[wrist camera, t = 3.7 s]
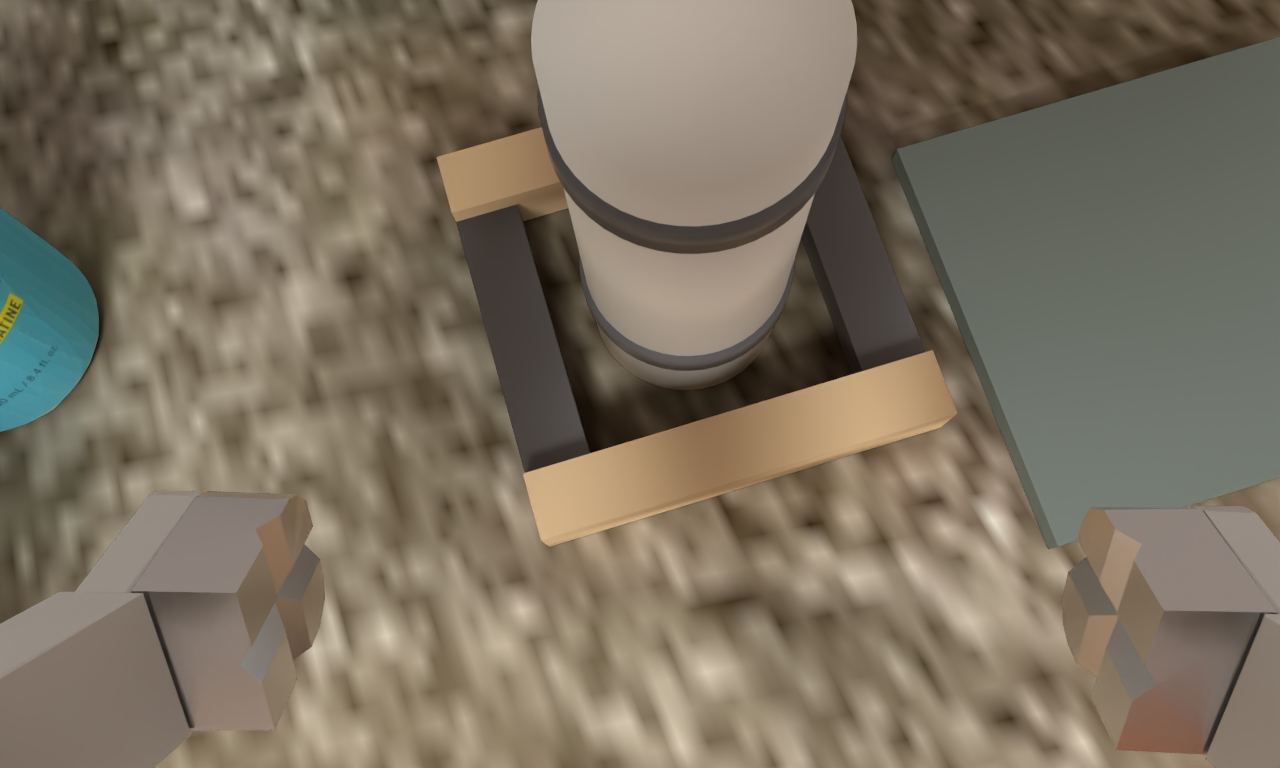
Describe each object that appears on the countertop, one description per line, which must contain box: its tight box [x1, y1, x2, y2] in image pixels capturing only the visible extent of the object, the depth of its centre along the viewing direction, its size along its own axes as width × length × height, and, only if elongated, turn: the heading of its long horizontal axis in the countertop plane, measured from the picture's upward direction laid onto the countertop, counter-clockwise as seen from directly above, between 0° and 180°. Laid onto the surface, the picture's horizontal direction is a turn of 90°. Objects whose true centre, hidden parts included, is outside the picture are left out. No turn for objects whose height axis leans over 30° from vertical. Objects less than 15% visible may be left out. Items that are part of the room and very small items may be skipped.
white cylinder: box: [531, 0, 857, 390], centre depth 19 cm, size 5×5×11 cm
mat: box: [892, 37, 1280, 549], centre depth 24 cm, size 10×10×1 cm
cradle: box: [437, 127, 957, 547], centre depth 23 cm, size 9×9×2 cm
